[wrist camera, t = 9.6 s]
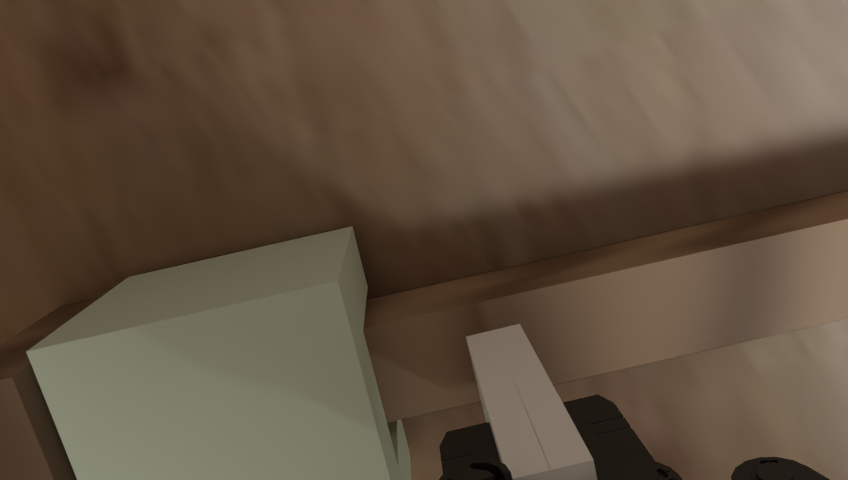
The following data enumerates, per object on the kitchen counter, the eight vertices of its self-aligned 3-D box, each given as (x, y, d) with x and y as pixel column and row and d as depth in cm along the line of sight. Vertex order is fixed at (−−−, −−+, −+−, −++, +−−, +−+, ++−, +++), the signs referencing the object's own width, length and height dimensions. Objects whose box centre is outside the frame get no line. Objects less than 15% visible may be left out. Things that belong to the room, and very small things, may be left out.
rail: (904, 115, 20) (1116, 126, 14) (912, 321, 22) (1104, 407, 16) (59, 306, 20) (-77, 397, 14) (131, 498, 22) (37, 649, 16)
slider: (352, 226, 20) (337, 280, 14) (410, 453, 21) (417, 581, 16) (128, 277, 20) (26, 351, 14) (205, 500, 21) (142, 643, 16)
